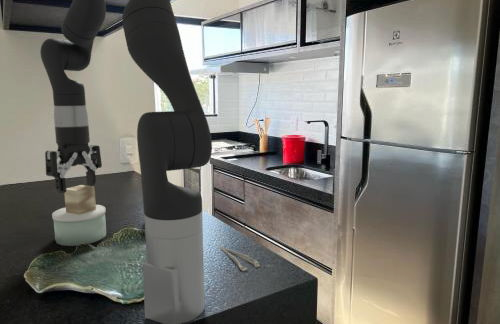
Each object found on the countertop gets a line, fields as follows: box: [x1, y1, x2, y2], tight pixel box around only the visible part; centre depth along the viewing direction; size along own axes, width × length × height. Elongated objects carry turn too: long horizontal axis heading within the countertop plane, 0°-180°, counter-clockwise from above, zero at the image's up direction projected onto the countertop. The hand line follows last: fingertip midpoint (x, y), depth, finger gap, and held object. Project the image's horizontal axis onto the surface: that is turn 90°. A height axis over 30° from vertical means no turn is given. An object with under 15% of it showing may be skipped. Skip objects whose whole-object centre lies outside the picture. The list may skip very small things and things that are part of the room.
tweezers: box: [218, 246, 261, 272], centre depth 85 cm, size 17×5×2 cm, turn 33°
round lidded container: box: [51, 204, 107, 247], centre depth 96 cm, size 12×12×7 cm
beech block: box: [63, 184, 97, 215], centre depth 95 cm, size 5×5×6 cm
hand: (77, 188), depth 94 cm, fingers open, 8 cm apart
